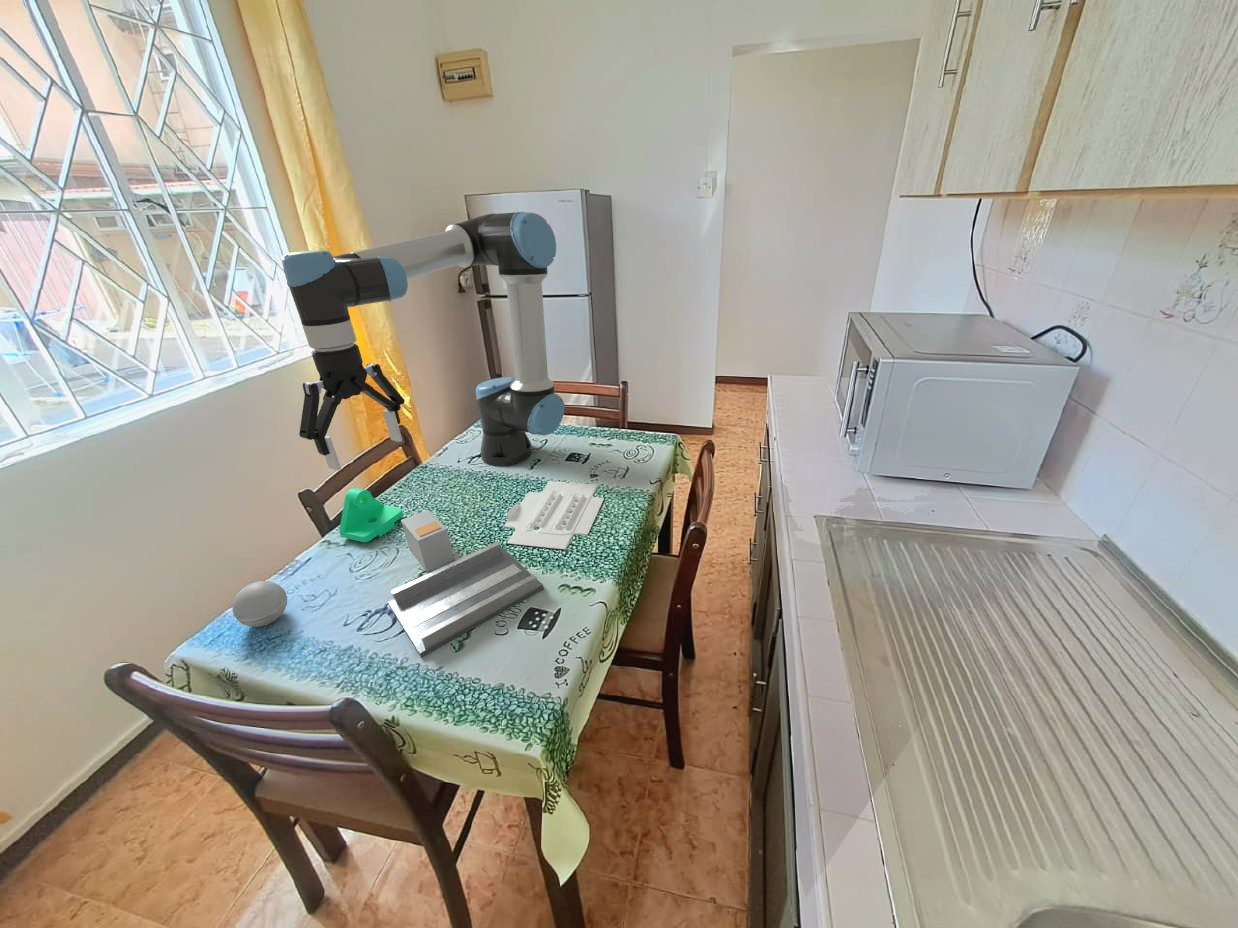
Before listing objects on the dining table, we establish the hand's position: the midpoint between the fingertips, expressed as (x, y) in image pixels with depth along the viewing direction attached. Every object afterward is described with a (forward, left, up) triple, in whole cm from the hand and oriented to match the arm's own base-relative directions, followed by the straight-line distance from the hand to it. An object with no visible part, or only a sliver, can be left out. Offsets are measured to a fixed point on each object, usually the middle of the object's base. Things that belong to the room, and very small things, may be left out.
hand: (367, 453), depth 96 cm
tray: (-34, +12, -25) cm, 44 cm away
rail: (-5, +25, -24) cm, 35 cm away
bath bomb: (+25, +5, -24) cm, 35 cm away
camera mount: (+1, -12, -24) cm, 27 cm away
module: (-5, +7, -24) cm, 25 cm away
